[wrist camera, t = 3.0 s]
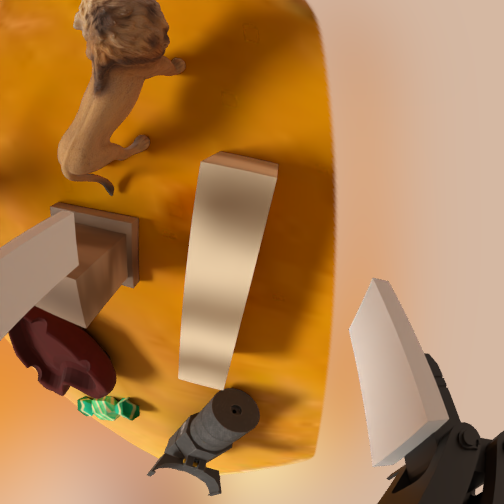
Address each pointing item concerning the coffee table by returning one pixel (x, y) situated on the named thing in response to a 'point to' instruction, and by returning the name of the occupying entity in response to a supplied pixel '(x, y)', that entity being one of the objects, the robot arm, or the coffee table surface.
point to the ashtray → (62, 354)
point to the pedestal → (95, 264)
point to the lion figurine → (114, 81)
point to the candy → (108, 408)
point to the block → (222, 261)
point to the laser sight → (210, 436)
